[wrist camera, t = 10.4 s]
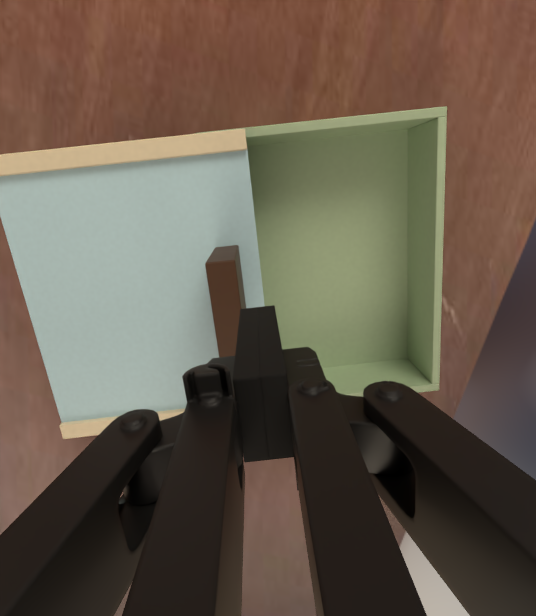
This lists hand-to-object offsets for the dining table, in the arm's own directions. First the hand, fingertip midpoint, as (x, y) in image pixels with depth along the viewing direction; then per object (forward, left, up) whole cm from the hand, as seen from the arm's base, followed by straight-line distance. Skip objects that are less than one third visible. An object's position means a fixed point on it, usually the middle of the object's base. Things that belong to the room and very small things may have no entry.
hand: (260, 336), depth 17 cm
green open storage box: (-5, 0, -17) cm, 18 cm away
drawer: (+8, 0, -11) cm, 13 cm away
